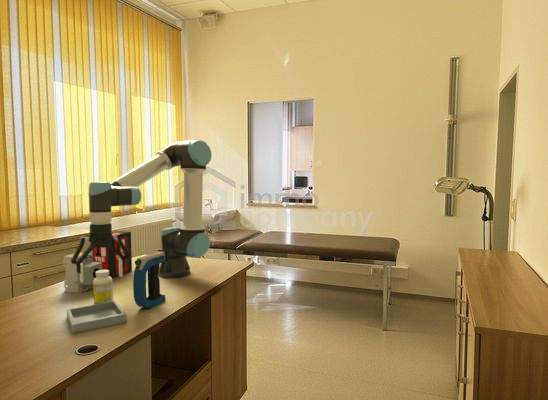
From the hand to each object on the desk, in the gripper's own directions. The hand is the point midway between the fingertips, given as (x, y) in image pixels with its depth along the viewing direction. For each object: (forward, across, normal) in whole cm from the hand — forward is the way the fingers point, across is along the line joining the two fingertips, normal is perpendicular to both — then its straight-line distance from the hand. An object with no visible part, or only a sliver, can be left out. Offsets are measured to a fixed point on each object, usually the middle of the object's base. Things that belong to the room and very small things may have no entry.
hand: (101, 278), depth 142 cm
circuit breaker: (+10, +2, -23) cm, 25 cm away
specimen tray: (+10, +4, +15) cm, 18 cm away
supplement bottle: (+10, 0, 0) cm, 10 cm away
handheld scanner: (+10, -16, +11) cm, 21 cm away
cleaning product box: (+10, -12, -42) cm, 45 cm away
